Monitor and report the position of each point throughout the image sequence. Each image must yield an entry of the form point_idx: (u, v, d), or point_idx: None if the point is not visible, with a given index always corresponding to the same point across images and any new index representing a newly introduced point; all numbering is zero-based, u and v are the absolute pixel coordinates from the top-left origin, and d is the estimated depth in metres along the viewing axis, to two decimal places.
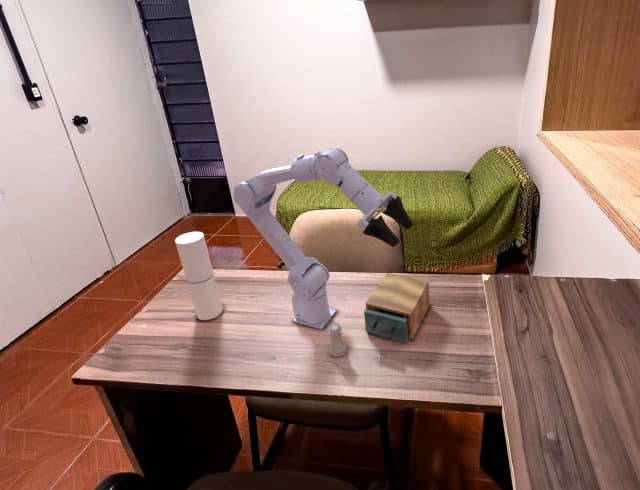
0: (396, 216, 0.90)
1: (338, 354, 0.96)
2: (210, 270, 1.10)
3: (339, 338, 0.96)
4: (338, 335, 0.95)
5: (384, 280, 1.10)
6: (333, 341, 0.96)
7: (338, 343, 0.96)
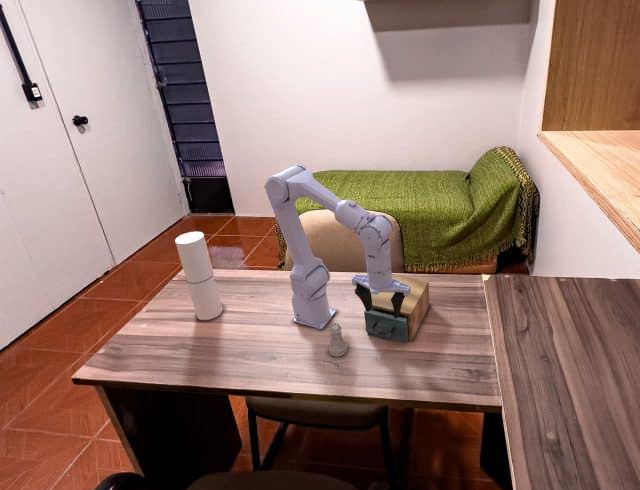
0: None
1: (338, 354, 0.96)
2: (210, 270, 1.10)
3: (339, 338, 0.96)
4: (338, 335, 0.95)
5: None
6: (333, 341, 0.96)
7: (338, 343, 0.96)
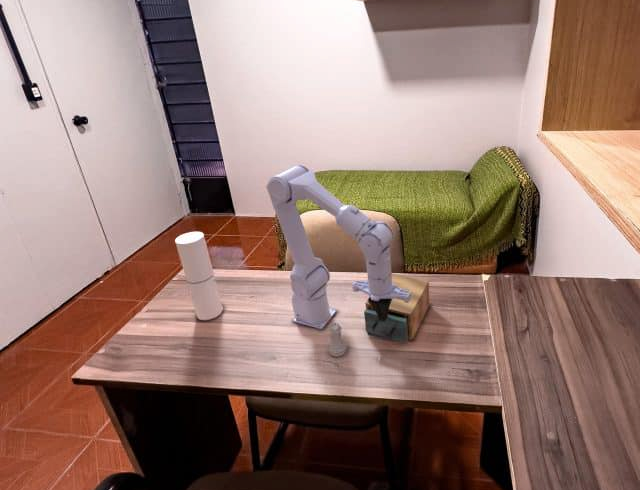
0: None
1: (338, 354, 0.96)
2: (210, 270, 1.10)
3: (339, 338, 0.96)
4: (338, 335, 0.95)
5: None
6: (333, 341, 0.96)
7: (338, 343, 0.96)
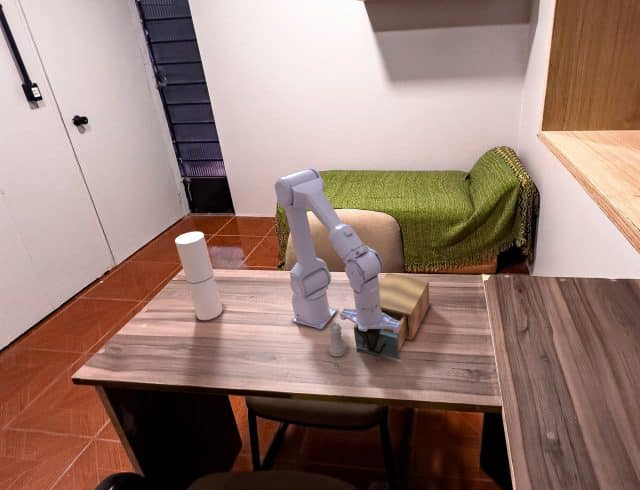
0: None
1: (338, 354, 0.96)
2: (210, 270, 1.10)
3: (339, 338, 0.96)
4: (338, 335, 0.95)
5: (384, 280, 1.10)
6: (333, 341, 0.96)
7: (338, 343, 0.96)
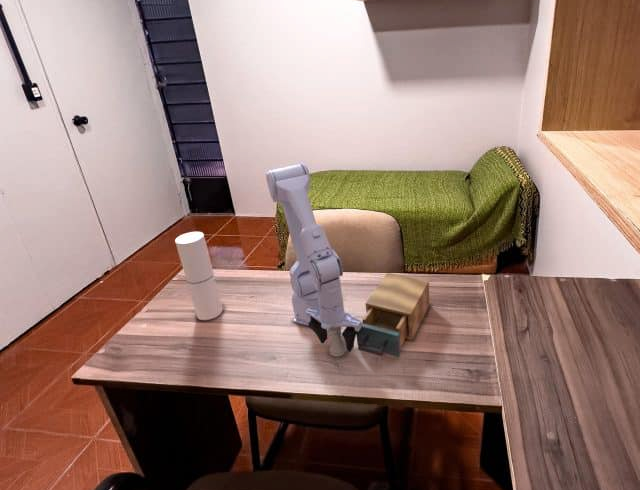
0: None
1: (338, 354, 0.96)
2: (210, 270, 1.10)
3: (339, 338, 0.96)
4: (338, 335, 0.95)
5: (384, 280, 1.10)
6: (333, 341, 0.96)
7: (338, 343, 0.96)
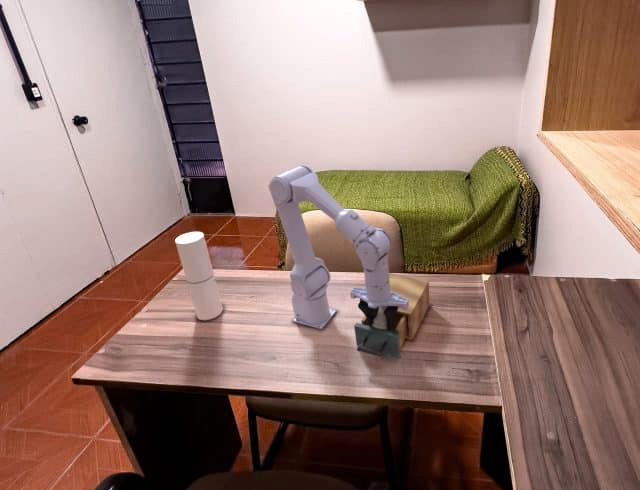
0: None
1: (382, 326, 0.94)
2: (210, 270, 1.10)
3: None
4: None
5: None
6: (381, 310, 0.96)
7: None
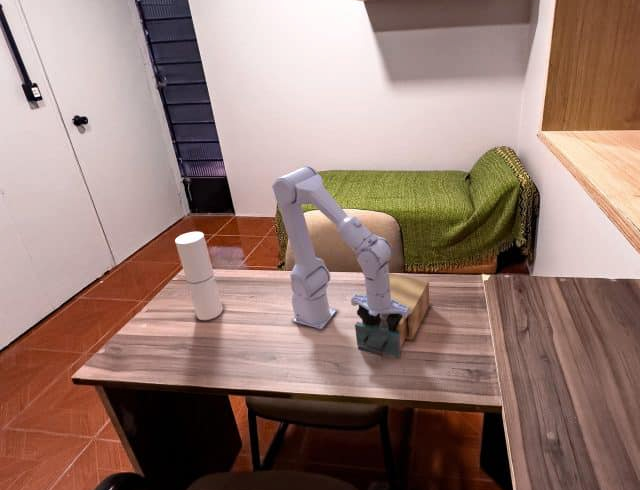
0: None
1: None
2: (210, 270, 1.10)
3: None
4: None
5: None
6: (383, 322, 0.98)
7: None
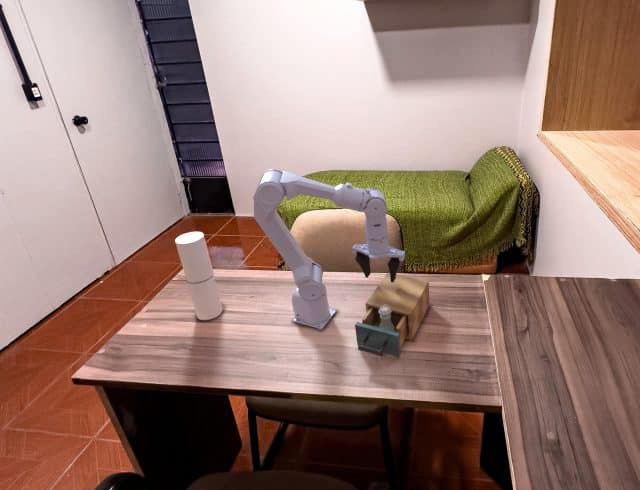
0: None
1: None
2: (210, 270, 1.10)
3: (389, 320, 0.98)
4: (388, 316, 0.97)
5: (384, 280, 1.10)
6: (383, 322, 0.98)
7: (388, 324, 0.98)
